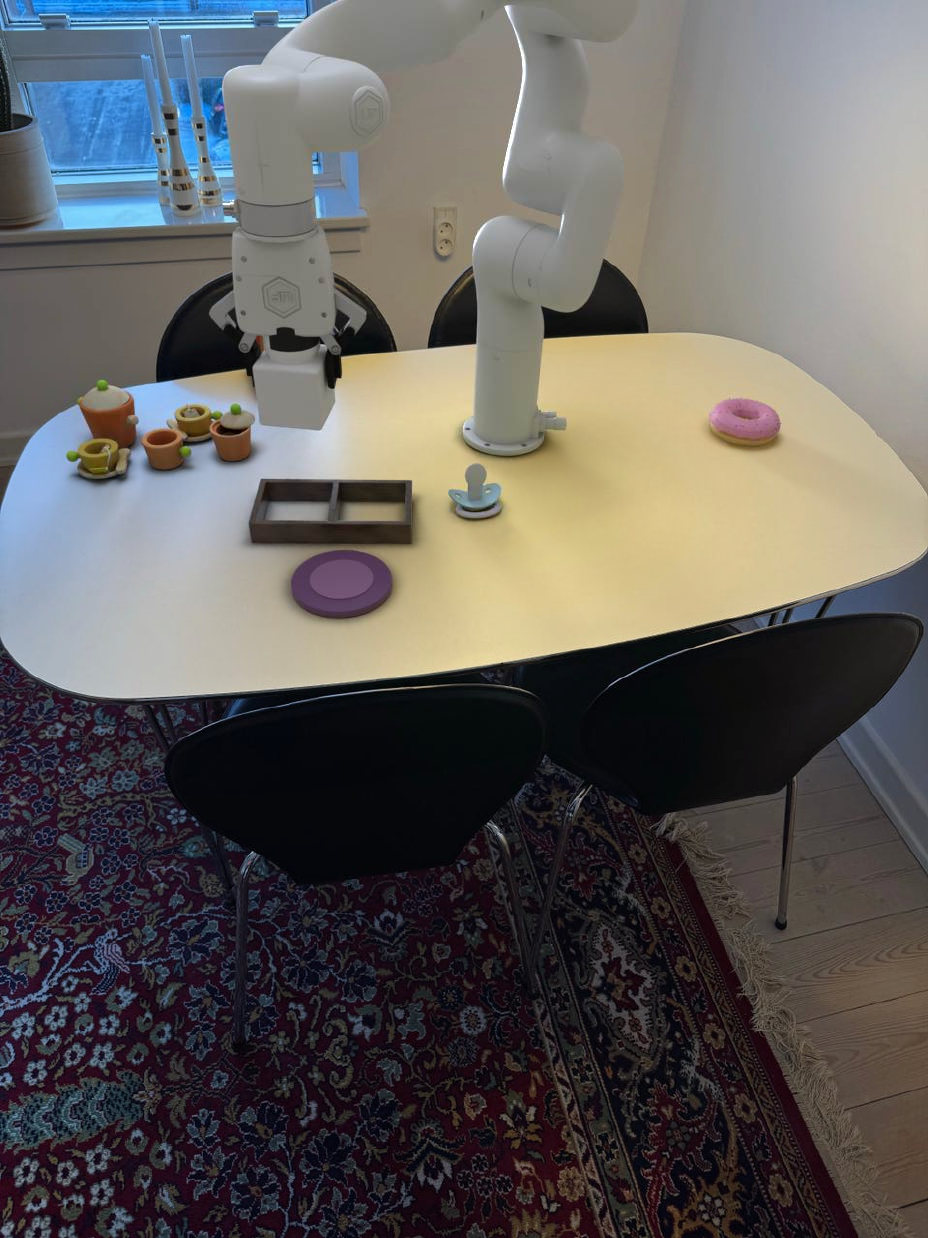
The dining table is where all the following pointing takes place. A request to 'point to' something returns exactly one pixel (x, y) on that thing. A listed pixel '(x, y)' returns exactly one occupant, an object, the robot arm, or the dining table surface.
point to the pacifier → (477, 494)
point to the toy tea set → (153, 433)
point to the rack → (330, 511)
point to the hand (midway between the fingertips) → (295, 381)
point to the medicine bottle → (292, 381)
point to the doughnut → (744, 421)
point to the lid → (341, 583)
